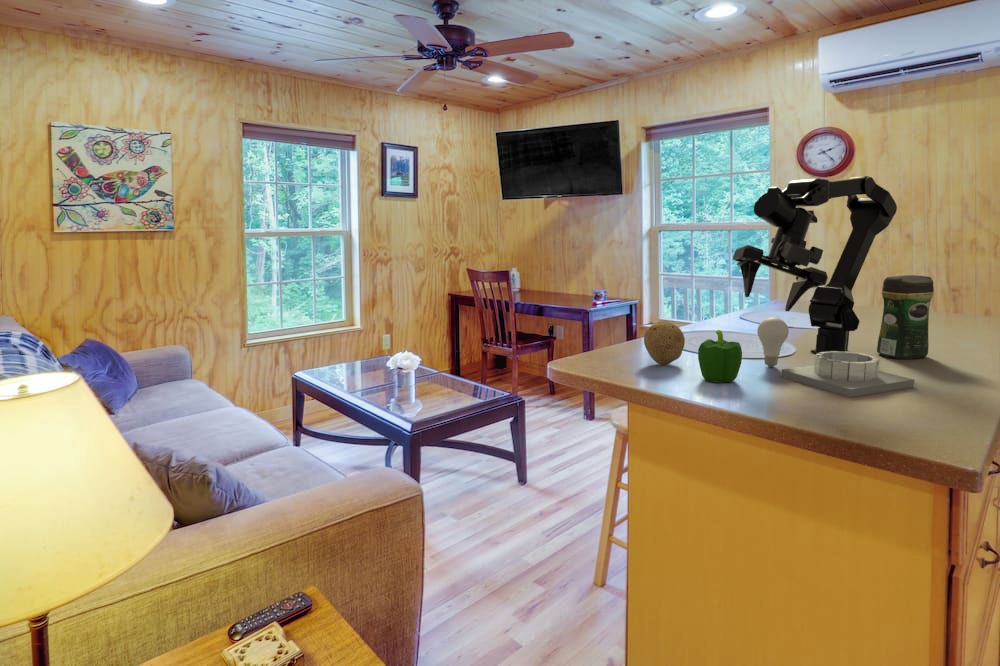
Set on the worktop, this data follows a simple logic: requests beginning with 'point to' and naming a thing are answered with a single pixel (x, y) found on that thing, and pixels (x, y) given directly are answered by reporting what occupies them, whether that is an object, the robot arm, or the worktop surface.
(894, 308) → the coffee jar
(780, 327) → the lightbulb
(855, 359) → the socket collar
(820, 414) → the worktop surface
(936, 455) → the worktop surface
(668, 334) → the natural sponge
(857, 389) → the socket plate
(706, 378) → the bell pepper
